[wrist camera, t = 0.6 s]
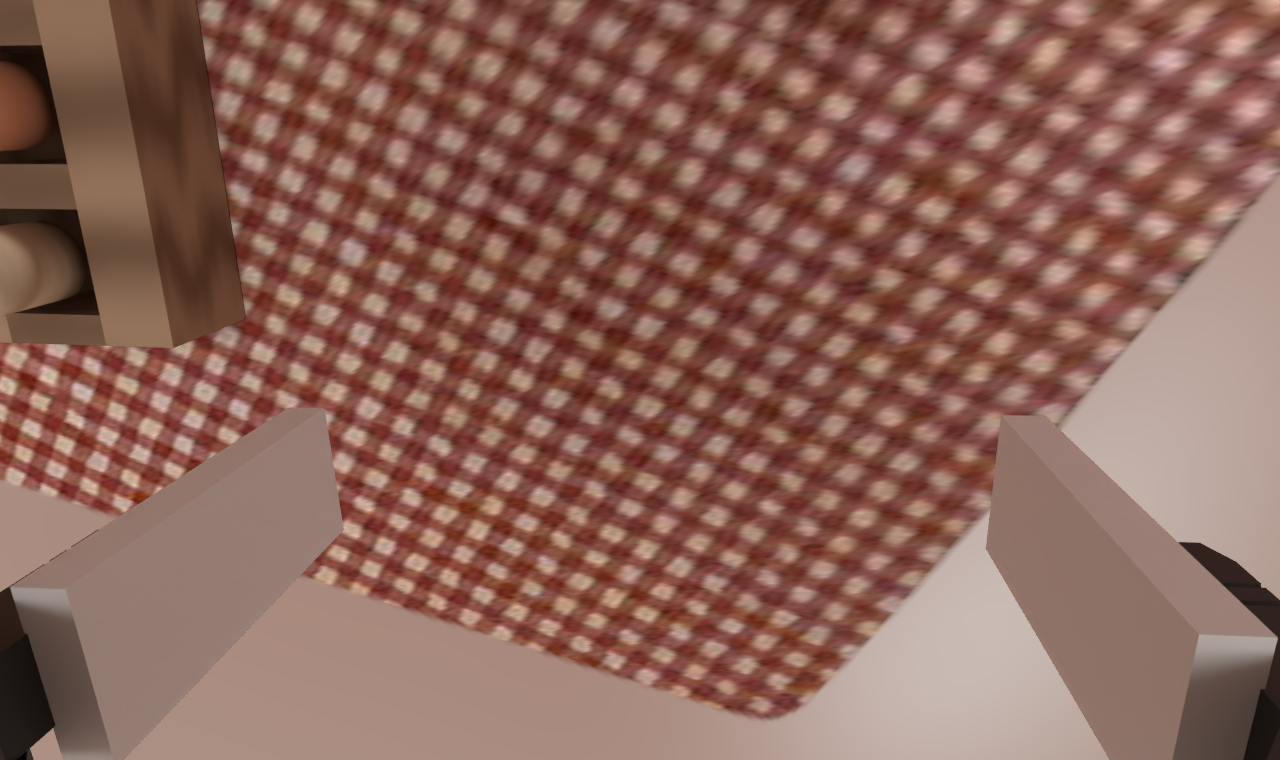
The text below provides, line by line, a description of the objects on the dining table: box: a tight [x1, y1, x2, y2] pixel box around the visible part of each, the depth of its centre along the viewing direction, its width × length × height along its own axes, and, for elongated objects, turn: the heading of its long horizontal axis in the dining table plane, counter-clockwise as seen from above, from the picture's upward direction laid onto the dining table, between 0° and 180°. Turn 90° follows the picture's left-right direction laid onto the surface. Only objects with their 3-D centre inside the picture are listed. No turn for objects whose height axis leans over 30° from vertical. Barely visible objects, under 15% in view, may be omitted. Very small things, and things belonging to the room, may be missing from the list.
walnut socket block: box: [0, 0, 246, 348], centre depth 39 cm, size 22×12×6 cm, turn 0°
